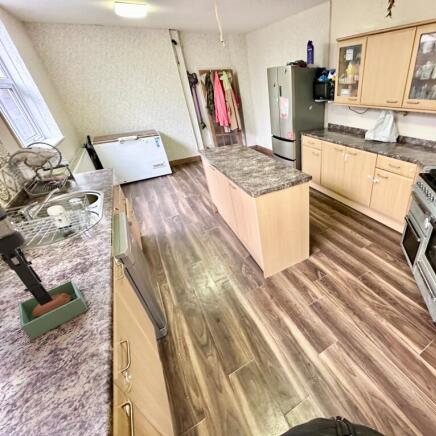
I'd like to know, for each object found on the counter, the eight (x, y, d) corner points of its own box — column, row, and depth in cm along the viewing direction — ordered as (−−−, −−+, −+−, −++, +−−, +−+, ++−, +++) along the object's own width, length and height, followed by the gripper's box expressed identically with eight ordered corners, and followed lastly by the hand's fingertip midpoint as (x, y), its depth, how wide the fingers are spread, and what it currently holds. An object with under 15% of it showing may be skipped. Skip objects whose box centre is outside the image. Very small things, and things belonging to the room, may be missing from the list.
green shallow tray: (28, 315, 76) (18, 303, 74) (79, 290, 85) (72, 279, 82) (32, 339, 68) (20, 327, 66) (88, 309, 77) (80, 298, 74)
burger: (29, 327, 72) (19, 316, 69) (50, 303, 80) (43, 293, 77) (64, 321, 73) (56, 310, 71) (82, 298, 81) (76, 288, 79)
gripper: (26, 243, 58) (68, 302, 68) (10, 217, 71) (47, 270, 81) (-19, 259, 53) (34, 321, 63) (-28, 228, 66) (17, 283, 76)
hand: (41, 292), depth 72 cm, fingers open, 13 cm apart
